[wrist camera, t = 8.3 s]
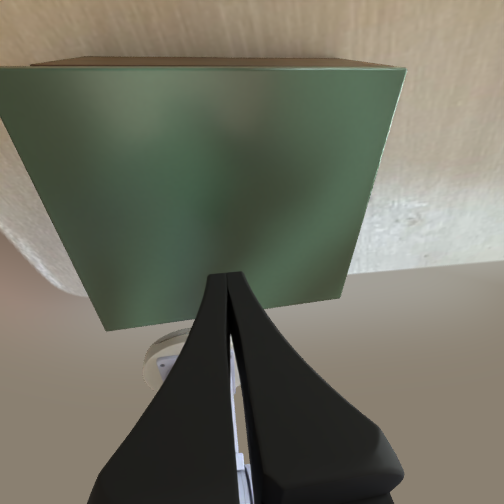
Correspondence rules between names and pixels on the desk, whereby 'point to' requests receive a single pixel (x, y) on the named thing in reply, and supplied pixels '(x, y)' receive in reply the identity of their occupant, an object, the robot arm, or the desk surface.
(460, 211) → the desk surface
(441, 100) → the desk surface
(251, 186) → the lid
